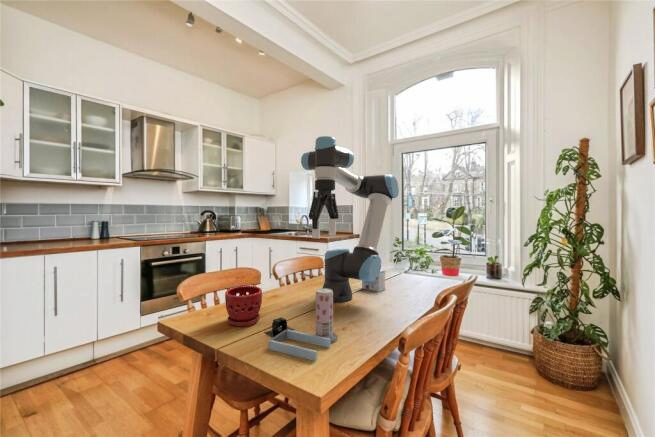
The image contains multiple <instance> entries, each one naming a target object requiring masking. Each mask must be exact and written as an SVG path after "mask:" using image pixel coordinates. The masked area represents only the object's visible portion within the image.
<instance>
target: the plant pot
mask: <svg viewBox="0 0 655 437" xmlns="http://www.w3.org/2000/svg"><path fill="white" fill-rule="evenodd" d="M247 293H248V294H247ZM224 294H225V295H224V296H225V297H224V298H225V300H224V301H225V308H226V311H227V312H226V313H227V315H228V317H227V321H228V323H229V324H230V325H232V326H236V327H246V326H251V325H254V324H255V323H257V322H258V321H259V320H260V318H261V315H260V313H259V312H260V310H261V308H262V303H263V301H262V300H263V290H262V288H261V287H259V286H256V285H255V286H254V285H241V286H235V287H232V288H229V289H227V290H226V291H225V292H224ZM237 294H239V295H237Z"/></svg>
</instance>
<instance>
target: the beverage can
mask: <svg viewBox="0 0 655 437" xmlns="http://www.w3.org/2000/svg"><path fill="white" fill-rule="evenodd" d="M314 331H315V333H314V334H315V335H316V336H320V337H325V338H329V339H330V338H331V337H332V336H333V333H334V302H333V291H332V290H331V289H327V288H323V287H322V288H317V289H316V291H315V330H314Z"/></svg>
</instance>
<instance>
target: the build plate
mask: <svg viewBox="0 0 655 437" xmlns="http://www.w3.org/2000/svg"><path fill="white" fill-rule="evenodd" d="M286 329H287V330H292V331H296V329H294V328H293V327H290V326H288V321H287V319H286V318H284V317H277V318H274V319H272V323H271V329H269V330H267V331H265V332H263V334H265V335H267V336H268V337H270V338H271V339H272V338H273V337H275V336H276V335H278V334H280V333H281V332H283V331H284V330H286Z"/></svg>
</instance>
